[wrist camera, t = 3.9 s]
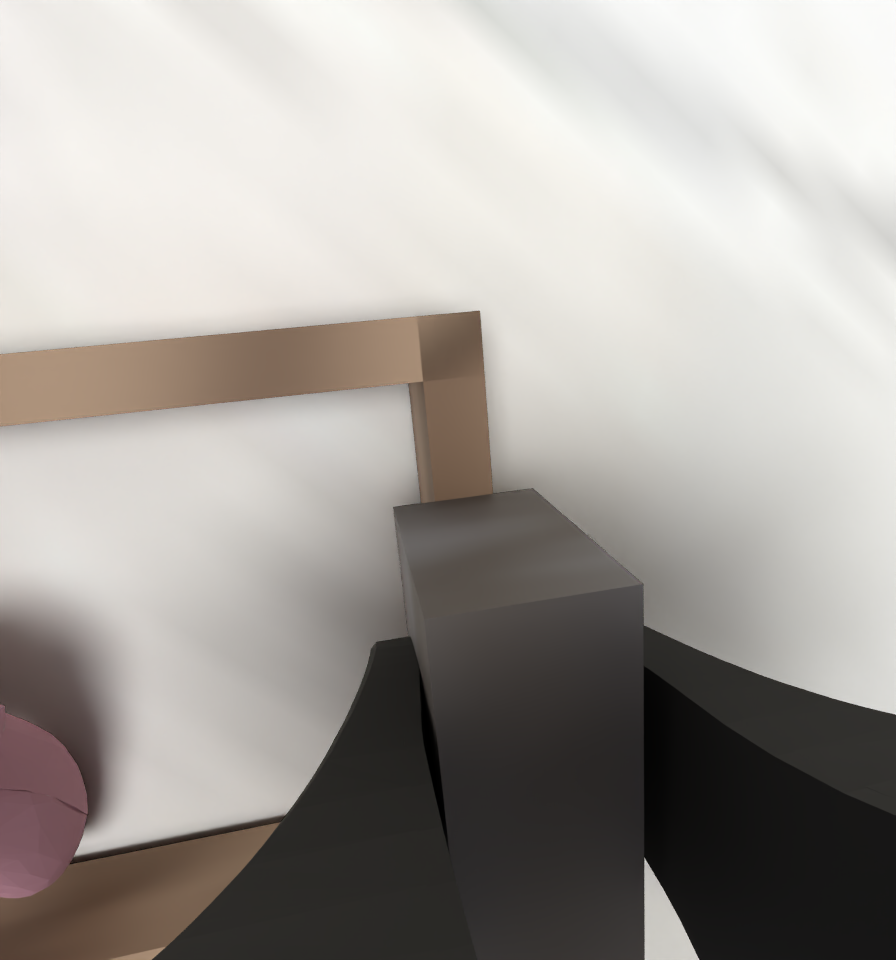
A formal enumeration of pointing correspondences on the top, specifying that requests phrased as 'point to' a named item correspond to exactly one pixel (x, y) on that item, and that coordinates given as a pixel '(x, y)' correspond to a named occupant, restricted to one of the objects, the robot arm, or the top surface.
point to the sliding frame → (439, 649)
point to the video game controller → (36, 807)
